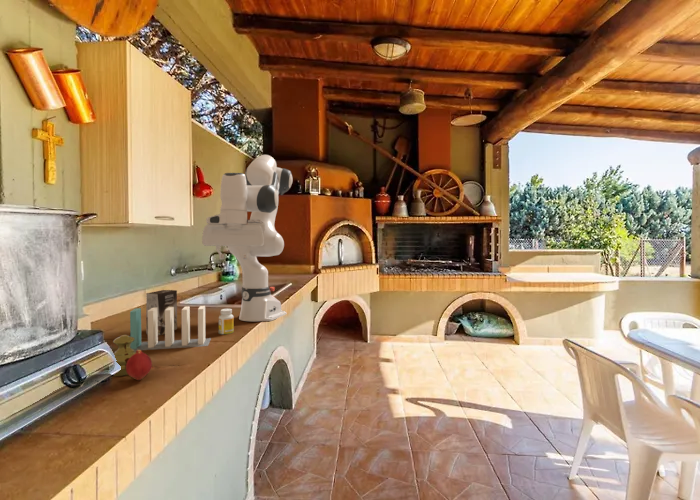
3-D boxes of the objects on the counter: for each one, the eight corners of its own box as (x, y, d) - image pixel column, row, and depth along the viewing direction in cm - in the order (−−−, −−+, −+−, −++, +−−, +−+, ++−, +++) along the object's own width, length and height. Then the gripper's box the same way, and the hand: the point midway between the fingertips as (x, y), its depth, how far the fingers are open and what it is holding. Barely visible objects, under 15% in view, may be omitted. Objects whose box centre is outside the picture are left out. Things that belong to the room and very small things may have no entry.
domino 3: (174, 341, 121) (173, 306, 120) (170, 346, 116) (170, 310, 115) (168, 342, 121) (168, 307, 120) (165, 346, 116) (164, 310, 115)
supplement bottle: (215, 336, 131) (215, 310, 131) (223, 332, 137) (223, 307, 136) (229, 337, 131) (229, 311, 130) (236, 333, 136) (236, 308, 135)
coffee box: (161, 337, 129) (160, 293, 128) (145, 336, 130) (145, 292, 129) (178, 331, 138) (177, 289, 137) (163, 330, 139) (163, 289, 138)
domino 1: (141, 343, 118) (140, 308, 118) (136, 348, 113) (135, 311, 113) (136, 343, 118) (135, 308, 118) (130, 348, 113) (130, 311, 113)
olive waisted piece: (102, 377, 93) (102, 340, 93) (115, 367, 100) (115, 332, 100) (133, 376, 95) (133, 338, 94) (144, 365, 102) (143, 331, 101)
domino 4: (189, 340, 122) (189, 306, 122) (187, 345, 117) (186, 309, 117) (184, 341, 122) (184, 306, 121) (181, 345, 117) (181, 309, 116)
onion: (126, 377, 93) (126, 347, 93) (151, 373, 96) (151, 344, 96) (125, 386, 88) (125, 354, 88) (152, 381, 91) (151, 351, 91)
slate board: (211, 340, 126) (211, 338, 126) (207, 348, 117) (207, 345, 117) (132, 345, 120) (132, 342, 119) (122, 354, 111) (122, 351, 111)
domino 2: (157, 342, 120) (157, 307, 119) (153, 347, 115) (153, 310, 114) (152, 343, 119) (152, 307, 119) (148, 347, 114) (147, 311, 114)
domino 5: (205, 339, 124) (205, 305, 123) (203, 344, 119) (203, 308, 118) (200, 340, 123) (200, 305, 123) (198, 344, 118) (197, 309, 118)
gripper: (264, 220, 128) (264, 258, 129) (204, 218, 123) (204, 258, 124) (265, 219, 122) (264, 259, 123) (201, 218, 117) (201, 259, 117)
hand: (233, 259), depth 123 cm, fingers open, 6 cm apart
